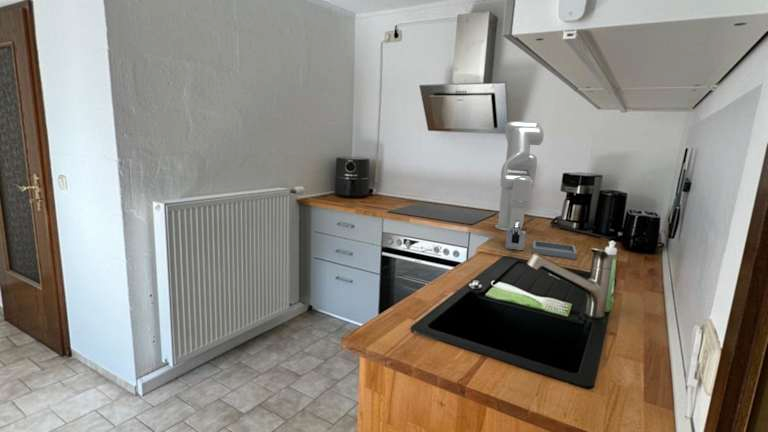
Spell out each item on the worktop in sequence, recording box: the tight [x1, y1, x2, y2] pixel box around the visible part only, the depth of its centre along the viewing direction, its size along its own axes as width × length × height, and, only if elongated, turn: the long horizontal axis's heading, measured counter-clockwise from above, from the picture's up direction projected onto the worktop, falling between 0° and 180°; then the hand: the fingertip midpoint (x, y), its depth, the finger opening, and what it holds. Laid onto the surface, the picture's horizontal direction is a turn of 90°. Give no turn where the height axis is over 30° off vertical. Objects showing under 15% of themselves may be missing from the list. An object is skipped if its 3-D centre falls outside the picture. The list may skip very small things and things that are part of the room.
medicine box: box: [504, 229, 527, 251], centre depth 190 cm, size 8×4×9 cm, turn 65°
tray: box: [532, 240, 578, 260], centre depth 187 cm, size 14×18×3 cm
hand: (515, 240), depth 190 cm, fingers open, 9 cm apart
